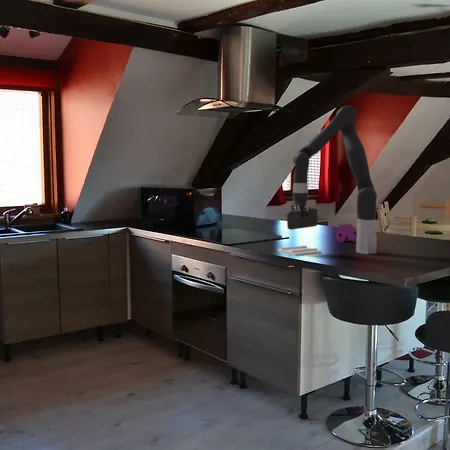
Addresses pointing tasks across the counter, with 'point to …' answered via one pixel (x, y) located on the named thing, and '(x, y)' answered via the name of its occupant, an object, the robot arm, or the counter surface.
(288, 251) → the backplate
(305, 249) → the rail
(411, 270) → the counter surface
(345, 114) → the robot arm
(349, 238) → the mounting bracket
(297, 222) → the leaning round-cornered charcoal block
